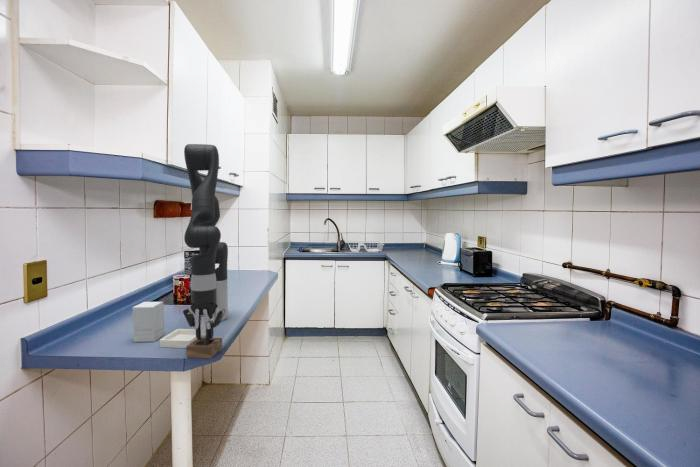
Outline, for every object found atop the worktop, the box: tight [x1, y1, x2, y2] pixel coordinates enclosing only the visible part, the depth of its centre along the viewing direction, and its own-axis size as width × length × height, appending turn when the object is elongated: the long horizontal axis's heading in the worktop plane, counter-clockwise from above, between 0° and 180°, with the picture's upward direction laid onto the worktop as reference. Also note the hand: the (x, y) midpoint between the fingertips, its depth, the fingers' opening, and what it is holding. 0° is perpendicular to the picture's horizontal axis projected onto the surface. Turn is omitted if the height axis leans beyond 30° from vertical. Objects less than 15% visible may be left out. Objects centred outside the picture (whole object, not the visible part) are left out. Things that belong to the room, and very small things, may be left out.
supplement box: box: [131, 301, 165, 343], centre depth 118 cm, size 7×7×13 cm
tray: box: [158, 328, 197, 349], centre depth 115 cm, size 11×11×2 cm
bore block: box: [185, 337, 223, 359], centre depth 107 cm, size 8×8×4 cm
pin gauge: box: [200, 315, 209, 345], centre depth 106 cm, size 3×3×12 cm
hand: (204, 338), depth 106 cm, fingers closed on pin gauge, 2 cm apart
